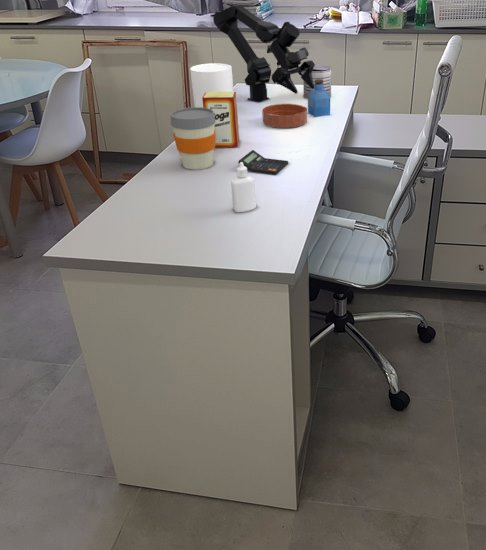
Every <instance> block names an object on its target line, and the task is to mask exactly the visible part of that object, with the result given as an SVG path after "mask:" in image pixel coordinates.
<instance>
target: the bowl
mask: <svg viewBox="0 0 486 550" xmlns="http://www.w3.org/2000/svg"><path fill="white" fill-rule="evenodd" d="M261 114H262V115H261V116H262V123H263V124H264V125H265V126H266V127H267V126H268V127H271V128H276V129H277V128H278V129H291V128H297V127H300V126H301V127H302V126H303V125H305V124H306V123H308V122H307V121H308V107H306V106H304V105H302V104H298V103H297V104H296V103H276V104H270V105H267V106H265V107H263V108H262V110H261Z"/></svg>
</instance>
